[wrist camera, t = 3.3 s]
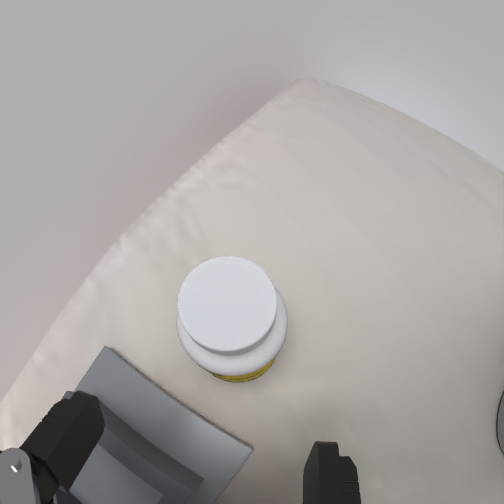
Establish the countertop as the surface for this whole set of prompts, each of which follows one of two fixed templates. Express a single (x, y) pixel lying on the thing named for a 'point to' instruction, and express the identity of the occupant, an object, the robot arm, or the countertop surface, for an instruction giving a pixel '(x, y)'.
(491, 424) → the countertop surface
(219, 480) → the gray socket holder
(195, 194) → the countertop surface
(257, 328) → the supplement bottle
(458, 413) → the countertop surface
